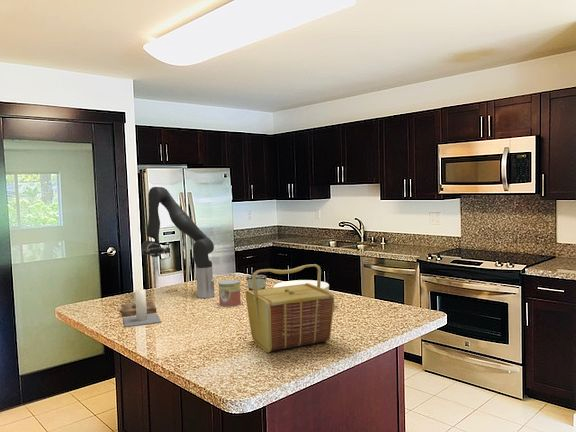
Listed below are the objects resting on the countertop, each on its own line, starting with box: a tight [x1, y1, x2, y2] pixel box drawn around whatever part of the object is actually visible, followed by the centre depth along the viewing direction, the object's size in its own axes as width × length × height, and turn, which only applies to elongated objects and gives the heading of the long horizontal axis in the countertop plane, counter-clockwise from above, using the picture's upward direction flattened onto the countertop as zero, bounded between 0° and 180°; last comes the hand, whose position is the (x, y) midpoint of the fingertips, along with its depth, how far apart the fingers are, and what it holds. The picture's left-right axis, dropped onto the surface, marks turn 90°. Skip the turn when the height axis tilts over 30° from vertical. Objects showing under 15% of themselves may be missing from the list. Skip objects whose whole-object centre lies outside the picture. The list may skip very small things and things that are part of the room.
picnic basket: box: [245, 263, 335, 353], centre depth 186 cm, size 29×26×30 cm
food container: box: [245, 274, 268, 291], centre depth 279 cm, size 12×6×10 cm, turn 84°
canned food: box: [218, 279, 242, 308], centre depth 252 cm, size 11×11×12 cm
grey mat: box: [123, 313, 162, 328], centre depth 225 cm, size 16×16×1 cm
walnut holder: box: [120, 300, 157, 318], centre depth 244 cm, size 16×16×2 cm
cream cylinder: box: [134, 288, 148, 321], centre depth 225 cm, size 5×5×14 cm
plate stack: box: [273, 279, 330, 291], centre depth 240 cm, size 28×28×12 cm
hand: (157, 252), depth 251 cm, fingers open, 8 cm apart
